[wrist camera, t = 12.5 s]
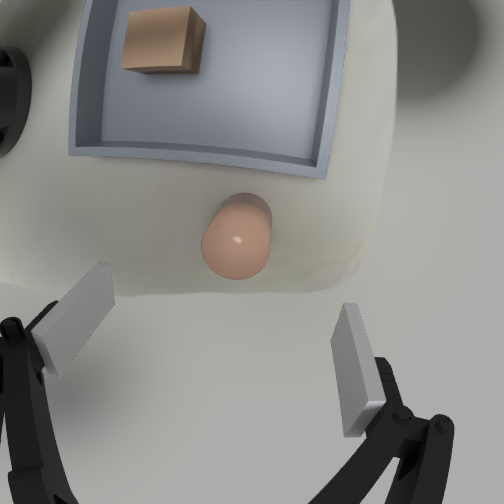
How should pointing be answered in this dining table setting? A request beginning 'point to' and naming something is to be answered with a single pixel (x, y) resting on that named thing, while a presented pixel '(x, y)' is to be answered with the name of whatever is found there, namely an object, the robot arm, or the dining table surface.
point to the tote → (216, 87)
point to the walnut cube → (164, 41)
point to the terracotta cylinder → (238, 237)
